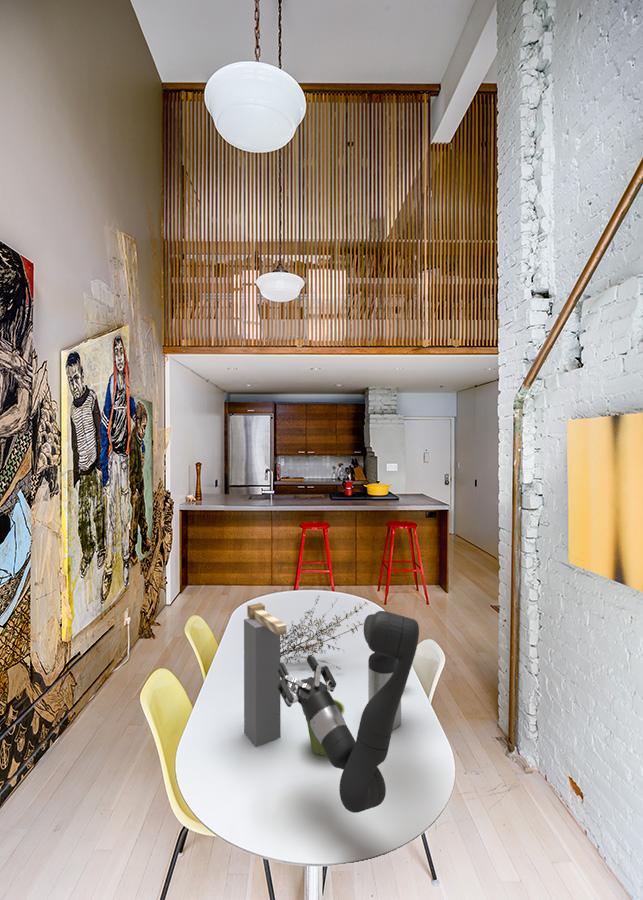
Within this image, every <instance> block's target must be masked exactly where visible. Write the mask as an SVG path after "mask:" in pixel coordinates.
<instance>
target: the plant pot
mask: <svg viewBox="0 0 643 900" xmlns="http://www.w3.org/2000/svg"><path fill="white" fill-rule="evenodd" d="M333 700H334V702H335V703H336V705H337V707H338V709H339V710H340V712H341V714H342V716H343V715H344V713H345V706H344V705H343V703H342V702H340V701H339V700H338V699H334V698H333ZM302 712H303V711H302ZM303 715H304V716H305V714H304V712H303ZM305 721H306V723H307V728H308V734H309V735H308V736H309V739H310V740H309V741H310V745H311V750H312V752H313V753H314V754H315V755H321V756H323V757H324V756H326V757H327V755H326V753H325V751H324V749H323V747H322V745H321V743H320V742H319V740H318V739H317V737H316V736H315V734H314V732H313V730H312V728H311V726H310V724H309V722H308V720H307V718H306V716H305Z"/></svg>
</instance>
